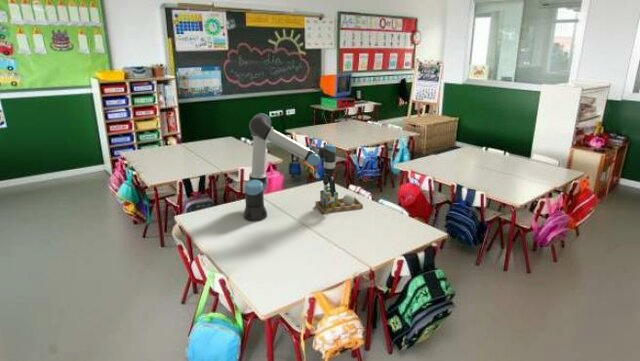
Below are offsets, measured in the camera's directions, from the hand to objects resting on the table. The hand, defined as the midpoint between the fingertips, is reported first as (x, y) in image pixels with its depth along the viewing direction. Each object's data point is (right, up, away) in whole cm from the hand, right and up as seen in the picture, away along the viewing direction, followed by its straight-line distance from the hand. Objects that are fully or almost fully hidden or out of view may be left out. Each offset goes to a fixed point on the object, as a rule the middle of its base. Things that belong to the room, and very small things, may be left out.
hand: (328, 197), depth 276 cm
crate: (+7, -7, +5) cm, 11 cm away
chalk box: (0, -7, +3) cm, 8 cm away
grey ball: (+14, -6, +6) cm, 16 cm away
